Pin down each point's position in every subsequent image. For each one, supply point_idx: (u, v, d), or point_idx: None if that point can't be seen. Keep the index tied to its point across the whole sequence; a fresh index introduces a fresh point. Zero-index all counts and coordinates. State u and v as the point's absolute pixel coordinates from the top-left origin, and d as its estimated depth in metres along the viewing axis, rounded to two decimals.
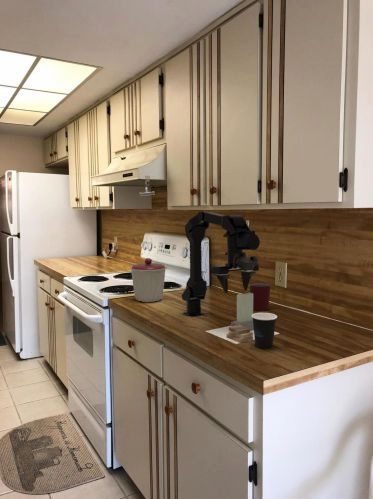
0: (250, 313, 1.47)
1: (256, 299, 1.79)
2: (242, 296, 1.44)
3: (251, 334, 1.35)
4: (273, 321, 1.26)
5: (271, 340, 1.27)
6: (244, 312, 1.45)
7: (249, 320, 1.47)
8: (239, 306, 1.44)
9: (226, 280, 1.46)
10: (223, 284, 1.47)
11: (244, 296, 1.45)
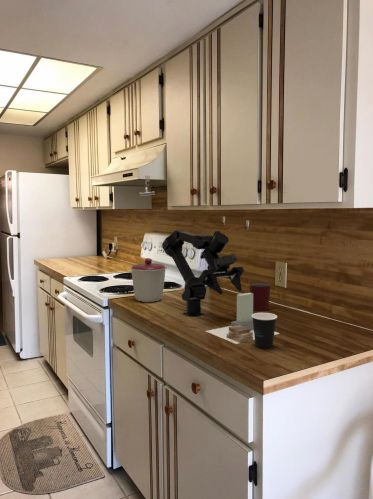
0: (250, 313, 1.47)
1: (256, 299, 1.79)
2: (242, 296, 1.44)
3: (251, 334, 1.35)
4: (273, 321, 1.26)
5: (271, 340, 1.27)
6: (244, 312, 1.45)
7: (249, 320, 1.47)
8: (239, 306, 1.44)
9: (216, 281, 1.51)
10: (215, 287, 1.51)
11: (244, 296, 1.45)
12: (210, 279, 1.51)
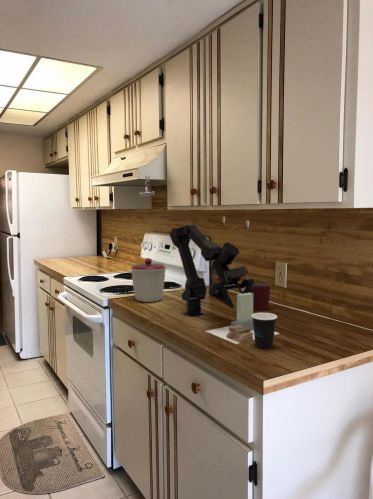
0: (250, 313, 1.47)
1: (256, 299, 1.79)
2: (242, 296, 1.44)
3: (251, 334, 1.35)
4: (273, 321, 1.26)
5: (271, 340, 1.27)
6: (244, 312, 1.45)
7: (249, 320, 1.47)
8: (239, 306, 1.44)
9: (226, 294, 1.46)
10: (226, 300, 1.46)
11: (244, 296, 1.45)
12: (221, 292, 1.47)
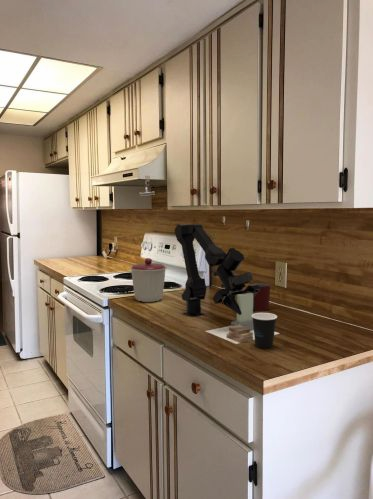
0: (250, 313, 1.47)
1: (256, 299, 1.79)
2: (242, 296, 1.44)
3: (251, 334, 1.35)
4: (273, 321, 1.26)
5: (271, 340, 1.27)
6: (244, 312, 1.45)
7: (249, 320, 1.47)
8: (239, 306, 1.44)
9: (234, 301, 1.45)
10: (234, 307, 1.45)
11: (244, 296, 1.45)
12: (228, 298, 1.45)
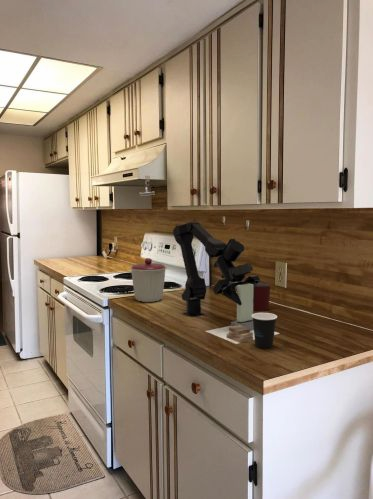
0: (250, 304, 1.46)
1: (256, 299, 1.79)
2: (242, 287, 1.44)
3: (251, 334, 1.35)
4: (273, 321, 1.26)
5: (271, 340, 1.27)
6: (244, 302, 1.45)
7: (249, 311, 1.46)
8: (239, 297, 1.44)
9: (234, 291, 1.44)
10: (234, 297, 1.44)
11: (244, 287, 1.44)
12: (228, 289, 1.45)
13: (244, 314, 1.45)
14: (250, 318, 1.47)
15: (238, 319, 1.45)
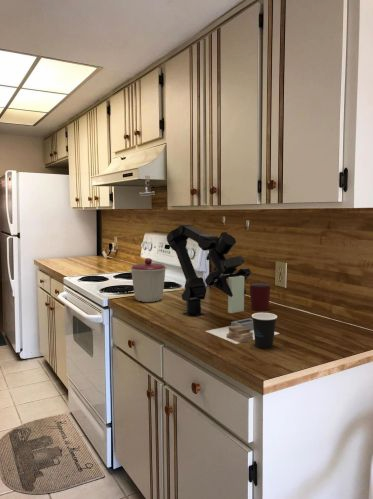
0: (241, 295, 1.50)
1: (256, 299, 1.79)
2: (233, 279, 1.48)
3: (251, 334, 1.35)
4: (273, 321, 1.26)
5: (271, 340, 1.27)
6: (235, 294, 1.49)
7: (240, 302, 1.50)
8: (230, 288, 1.48)
9: (226, 283, 1.48)
10: (225, 289, 1.48)
11: (235, 279, 1.48)
12: (220, 281, 1.49)
13: (235, 305, 1.49)
14: (241, 309, 1.51)
15: (229, 310, 1.49)
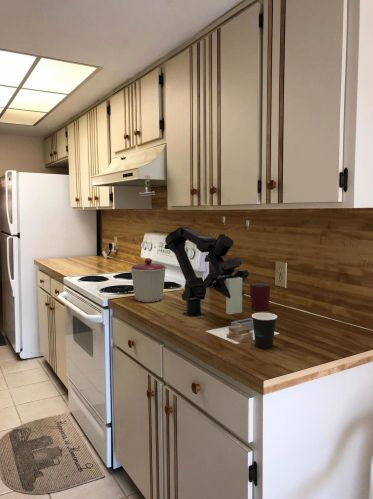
0: (239, 297, 1.51)
1: (256, 299, 1.79)
2: (231, 280, 1.49)
3: (251, 334, 1.35)
4: (273, 321, 1.26)
5: (271, 340, 1.27)
6: (233, 295, 1.50)
7: (238, 304, 1.51)
8: (228, 290, 1.49)
9: (224, 285, 1.49)
10: (223, 290, 1.49)
11: (233, 280, 1.49)
12: (218, 282, 1.50)
13: (233, 307, 1.50)
14: (239, 310, 1.52)
15: (227, 311, 1.50)
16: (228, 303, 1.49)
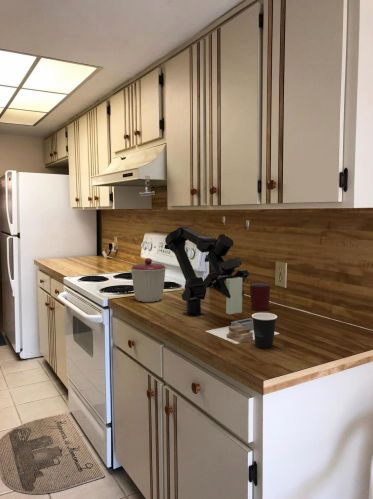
0: (239, 297, 1.51)
1: (256, 299, 1.79)
2: (231, 280, 1.49)
3: (251, 334, 1.35)
4: (273, 321, 1.26)
5: (271, 340, 1.27)
6: (233, 295, 1.50)
7: (238, 304, 1.51)
8: (228, 290, 1.49)
9: (224, 285, 1.49)
10: (223, 290, 1.49)
11: (233, 280, 1.49)
12: (218, 282, 1.50)
13: (233, 307, 1.50)
14: (239, 310, 1.52)
15: (227, 311, 1.50)
16: (228, 303, 1.49)
